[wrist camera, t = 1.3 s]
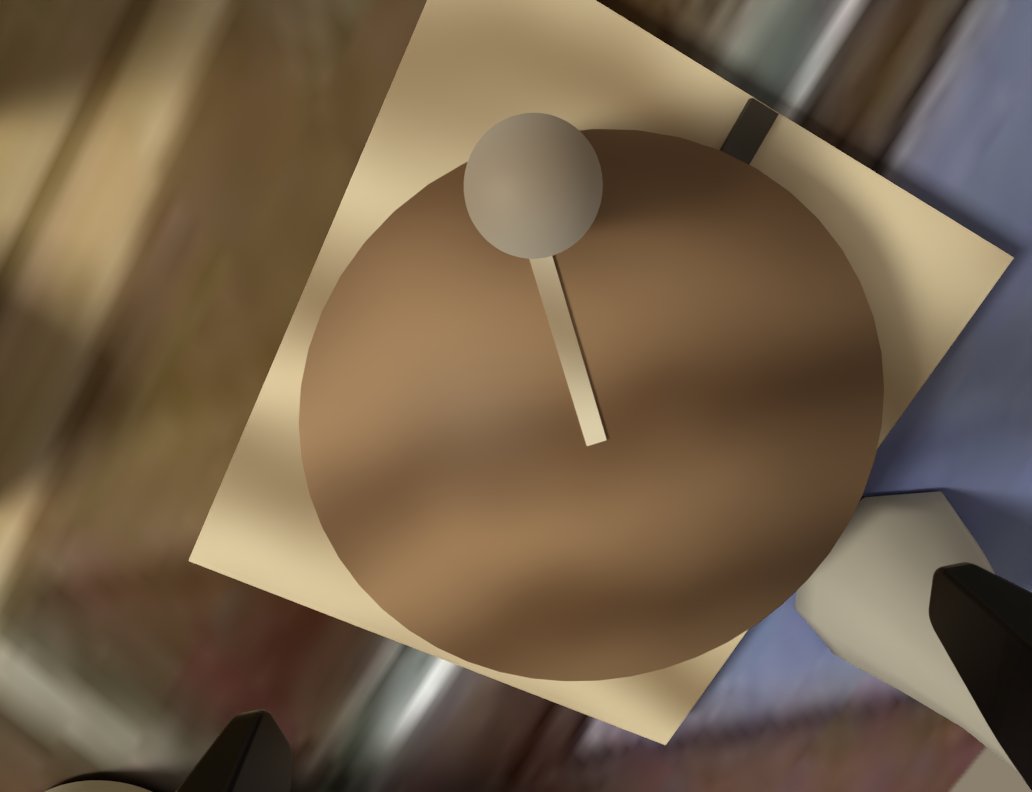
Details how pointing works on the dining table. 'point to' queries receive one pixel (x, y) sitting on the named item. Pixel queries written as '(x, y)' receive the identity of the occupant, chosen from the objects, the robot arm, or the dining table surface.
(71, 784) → the travel mug
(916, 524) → the flask
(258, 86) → the dining table surface
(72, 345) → the dining table surface
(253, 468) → the stand
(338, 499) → the knobbed disc on base
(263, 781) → the robot arm
